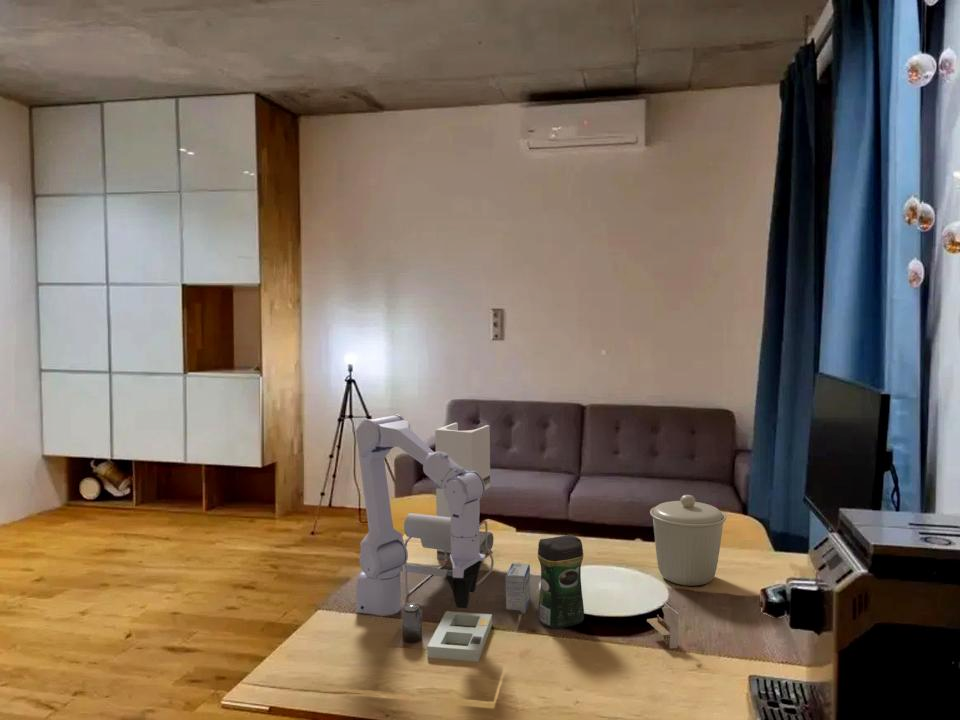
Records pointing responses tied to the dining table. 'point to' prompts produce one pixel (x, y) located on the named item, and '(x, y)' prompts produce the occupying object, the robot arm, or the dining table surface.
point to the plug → (411, 623)
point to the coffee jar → (560, 581)
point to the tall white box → (463, 460)
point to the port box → (460, 636)
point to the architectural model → (667, 625)
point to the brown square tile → (421, 644)
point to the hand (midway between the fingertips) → (465, 599)
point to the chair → (438, 541)
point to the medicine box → (518, 587)
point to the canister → (687, 540)
